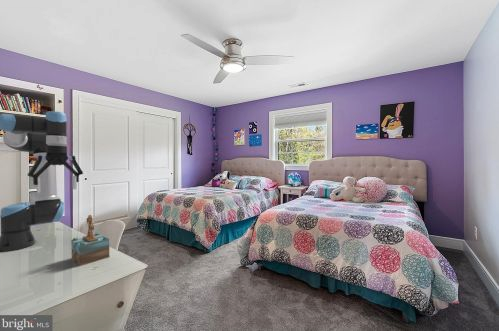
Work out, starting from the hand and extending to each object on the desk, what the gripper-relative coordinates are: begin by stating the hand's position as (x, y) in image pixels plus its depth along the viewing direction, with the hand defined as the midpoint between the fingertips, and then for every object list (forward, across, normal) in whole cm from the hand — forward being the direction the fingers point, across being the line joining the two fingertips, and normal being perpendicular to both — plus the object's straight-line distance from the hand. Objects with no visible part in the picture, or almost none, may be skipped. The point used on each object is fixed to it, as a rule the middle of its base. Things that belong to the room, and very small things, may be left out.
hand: (57, 190), depth 111 cm
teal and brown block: (+33, +10, -9) cm, 36 cm away
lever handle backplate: (+24, +10, -9) cm, 28 cm away
